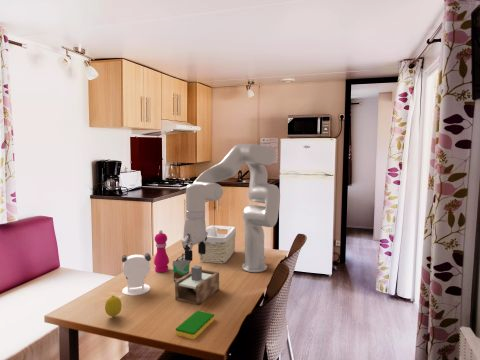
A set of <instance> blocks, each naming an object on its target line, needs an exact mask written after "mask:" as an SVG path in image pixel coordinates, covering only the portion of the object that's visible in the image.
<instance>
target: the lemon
mask: <svg viewBox="0 0 480 360" xmlns="http://www.w3.org/2000/svg"><path fill="white" fill-rule="evenodd" d="M122 305H123V304H122V300H121V299H120V298H119V296H116V295H111V296H109V297H108V298H107V299H106V301H105V304H104V309H105V312H106V315H108V316H109V317H112V318H116V316H118V315H119V314H120V313H121V311H122Z"/></svg>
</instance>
